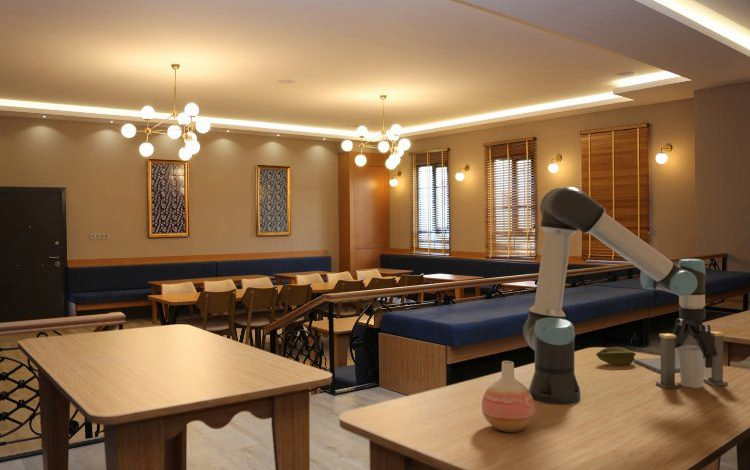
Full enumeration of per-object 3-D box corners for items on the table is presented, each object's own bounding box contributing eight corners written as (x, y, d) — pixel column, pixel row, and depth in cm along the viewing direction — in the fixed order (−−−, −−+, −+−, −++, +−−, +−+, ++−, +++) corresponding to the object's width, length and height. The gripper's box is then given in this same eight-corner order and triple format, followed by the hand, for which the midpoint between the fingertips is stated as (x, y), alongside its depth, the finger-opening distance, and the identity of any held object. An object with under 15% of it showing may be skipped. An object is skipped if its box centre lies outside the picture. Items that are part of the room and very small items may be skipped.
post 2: (713, 386, 202) (714, 334, 201) (703, 382, 207) (703, 331, 206) (727, 385, 202) (728, 333, 202) (717, 381, 207) (717, 330, 207)
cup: (709, 389, 198) (709, 351, 198) (681, 387, 200) (682, 350, 200) (701, 382, 206) (701, 346, 206) (675, 381, 208) (675, 345, 207)
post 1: (665, 389, 199) (665, 336, 198) (655, 384, 204) (656, 333, 203) (679, 388, 200) (679, 335, 199) (669, 383, 205) (670, 332, 204)
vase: (524, 441, 155) (524, 371, 154) (473, 432, 162) (473, 364, 162) (541, 425, 167) (541, 359, 166) (493, 417, 174) (492, 354, 173)
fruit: (629, 370, 224) (630, 351, 223) (595, 365, 230) (595, 347, 230) (637, 363, 233) (637, 345, 233) (603, 359, 240) (603, 342, 239)
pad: (659, 372, 219) (659, 369, 219) (633, 362, 235) (633, 359, 235) (700, 370, 221) (700, 367, 221) (672, 360, 237) (672, 357, 237)
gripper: (730, 312, 191) (730, 381, 191) (678, 301, 215) (678, 362, 216) (707, 313, 189) (708, 382, 190) (658, 302, 214) (658, 363, 215)
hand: (692, 372), depth 203 cm, fingers open, 13 cm apart
